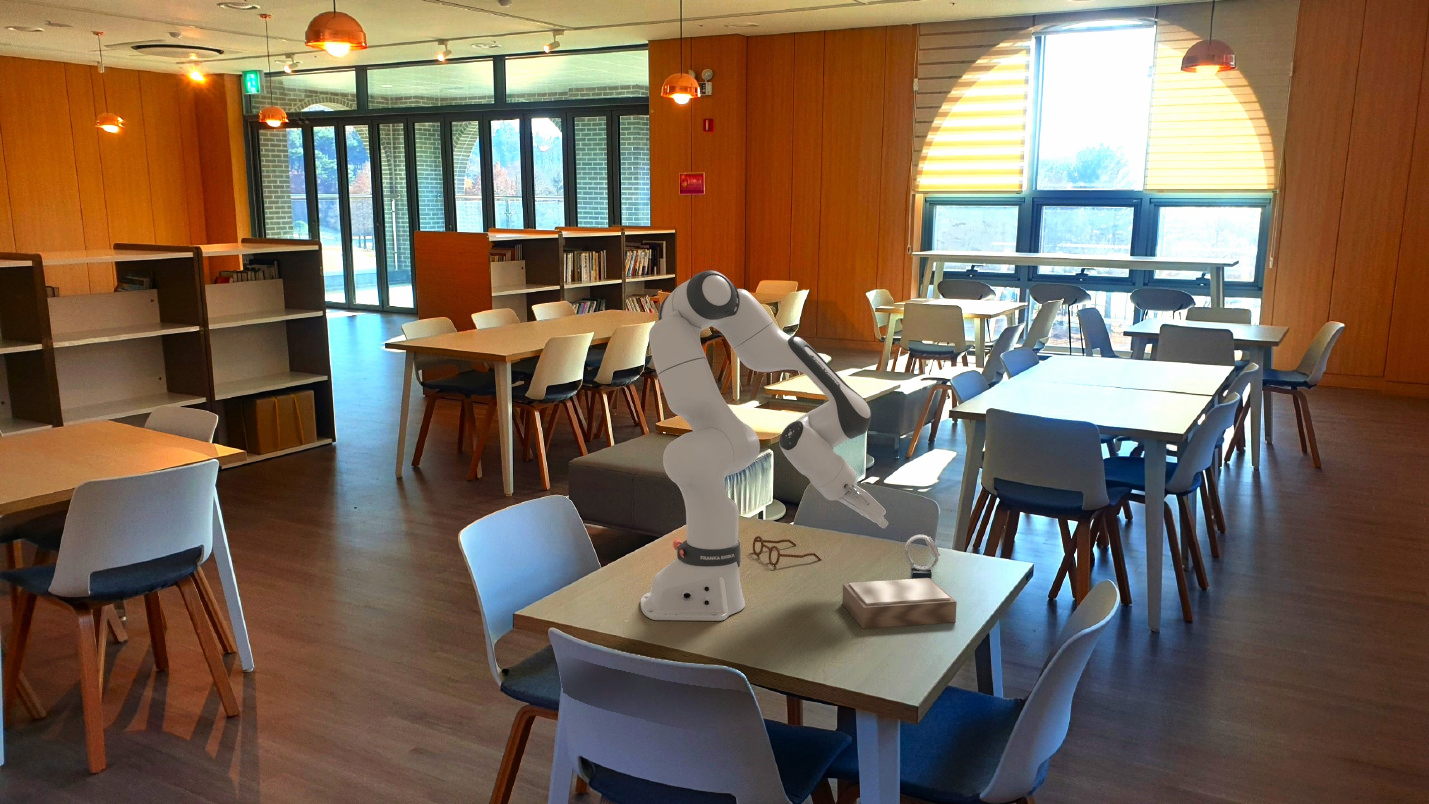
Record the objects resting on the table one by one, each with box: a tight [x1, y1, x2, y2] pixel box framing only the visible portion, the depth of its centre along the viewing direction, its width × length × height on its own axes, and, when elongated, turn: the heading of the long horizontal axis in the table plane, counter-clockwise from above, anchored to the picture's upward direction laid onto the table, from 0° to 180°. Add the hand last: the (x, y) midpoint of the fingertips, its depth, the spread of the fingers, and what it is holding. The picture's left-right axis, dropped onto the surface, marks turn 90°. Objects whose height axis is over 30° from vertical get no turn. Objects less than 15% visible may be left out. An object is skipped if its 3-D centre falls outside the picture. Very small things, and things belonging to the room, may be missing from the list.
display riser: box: [841, 578, 958, 629], centre depth 215 cm, size 20×14×5 cm
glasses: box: [752, 535, 823, 567], centre depth 251 cm, size 13×13×5 cm
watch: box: [904, 533, 941, 579], centre depth 233 cm, size 6×8×11 cm
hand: (875, 519), depth 228 cm, fingers open, 8 cm apart
